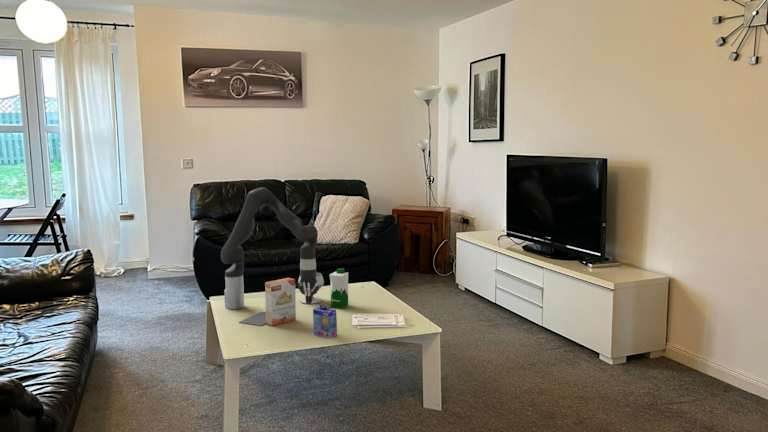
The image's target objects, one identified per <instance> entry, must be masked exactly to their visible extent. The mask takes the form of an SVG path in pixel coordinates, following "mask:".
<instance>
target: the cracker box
mask: <svg viewBox="0 0 768 432" xmlns="http://www.w3.org/2000/svg"><path fill="white" fill-rule="evenodd" d="M264 287H265V293H264V295H265V312H266V324H265V325H269V326H271V327H274V326H275V327H276V326H278V325H282V324H286V323H290V322H293V321H296V319H297V318H296V317H297V316H296V315H297V314H296V313H297V312H296V311H297V310H296V308H297V307H296V303H297V302H296V279H295V278H291V277H286V278H285V277H284V278H281V279H280V278H279V279H276V280H270V281H266V282H264Z"/></svg>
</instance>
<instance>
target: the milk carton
mask: <svg viewBox="0 0 768 432" xmlns="http://www.w3.org/2000/svg"><path fill="white" fill-rule="evenodd" d="M328 276H329V281H330V308H331V309H340V310H342V309H345V308H347V306H349V272H347V271H345V268H343V267H340V268H336V271H334V272H332V273H330V274H329V275H328Z"/></svg>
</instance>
